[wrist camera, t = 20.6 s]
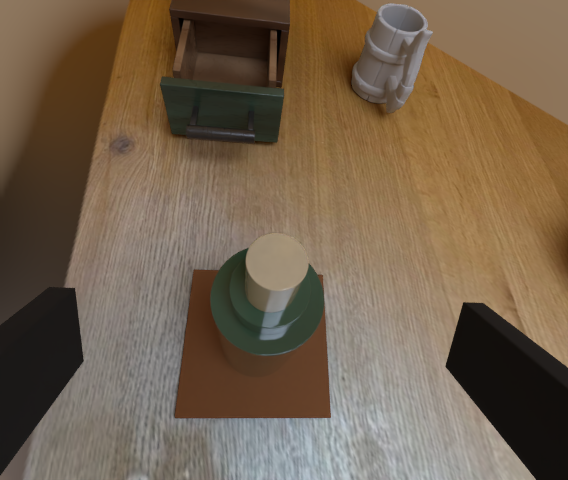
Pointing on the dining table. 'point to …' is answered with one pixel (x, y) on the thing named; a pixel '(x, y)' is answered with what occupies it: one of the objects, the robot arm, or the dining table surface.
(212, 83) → the drawer
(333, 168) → the dining table surface
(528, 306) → the dining table surface
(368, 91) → the mug
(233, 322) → the oil bottle
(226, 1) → the cabinet
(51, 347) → the robot arm
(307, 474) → the dining table surface
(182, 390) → the cork mat
